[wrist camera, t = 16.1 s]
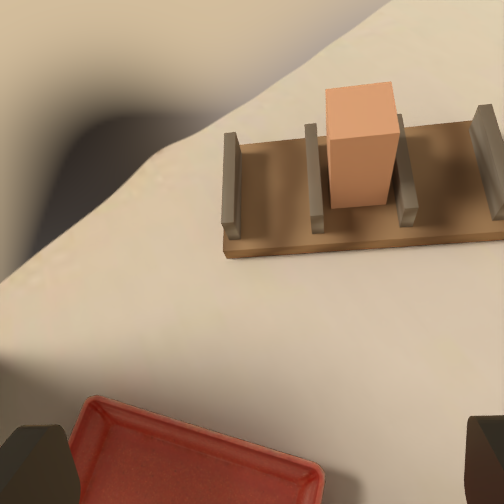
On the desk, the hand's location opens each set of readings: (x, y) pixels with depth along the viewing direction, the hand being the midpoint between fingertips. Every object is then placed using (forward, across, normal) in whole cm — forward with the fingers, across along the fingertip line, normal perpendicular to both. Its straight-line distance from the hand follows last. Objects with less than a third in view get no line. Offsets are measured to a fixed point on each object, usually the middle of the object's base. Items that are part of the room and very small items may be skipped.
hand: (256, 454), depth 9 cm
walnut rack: (+33, -6, +3) cm, 34 cm away
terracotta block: (+32, -6, +2) cm, 32 cm away
